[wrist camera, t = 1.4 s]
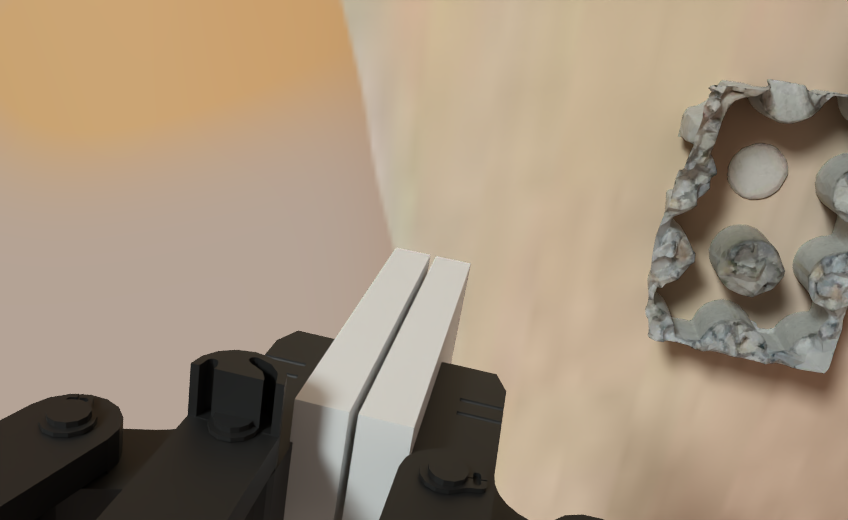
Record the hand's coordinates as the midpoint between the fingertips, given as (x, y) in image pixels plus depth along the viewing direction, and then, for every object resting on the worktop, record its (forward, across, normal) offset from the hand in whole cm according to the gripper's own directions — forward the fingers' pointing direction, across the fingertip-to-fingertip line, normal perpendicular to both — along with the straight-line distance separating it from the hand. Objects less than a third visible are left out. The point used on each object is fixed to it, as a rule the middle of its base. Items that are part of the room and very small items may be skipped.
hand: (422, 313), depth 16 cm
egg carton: (+17, +11, 0) cm, 20 cm away
